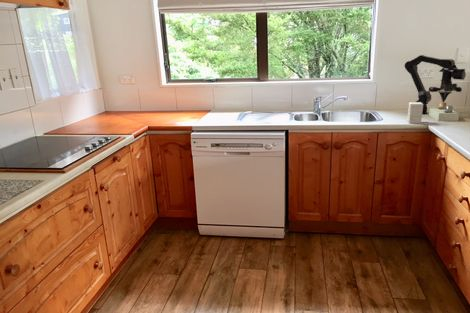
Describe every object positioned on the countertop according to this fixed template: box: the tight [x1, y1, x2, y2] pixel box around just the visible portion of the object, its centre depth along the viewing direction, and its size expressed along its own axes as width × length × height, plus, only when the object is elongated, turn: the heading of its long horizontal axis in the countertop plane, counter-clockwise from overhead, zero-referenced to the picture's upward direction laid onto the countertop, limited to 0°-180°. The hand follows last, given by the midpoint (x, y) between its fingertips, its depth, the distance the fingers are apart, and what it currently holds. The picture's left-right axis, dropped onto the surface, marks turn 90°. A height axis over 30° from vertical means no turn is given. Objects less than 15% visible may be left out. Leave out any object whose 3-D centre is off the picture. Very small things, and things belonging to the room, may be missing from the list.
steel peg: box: [445, 105, 454, 113], centre depth 239 cm, size 4×4×5 cm
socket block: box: [428, 107, 460, 122], centre depth 246 cm, size 12×20×5 cm, turn 169°
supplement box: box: [406, 101, 423, 124], centre depth 235 cm, size 7×7×13 cm
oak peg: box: [438, 102, 447, 110], centre depth 250 cm, size 4×4×5 cm
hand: (443, 102), depth 249 cm, fingers closed
